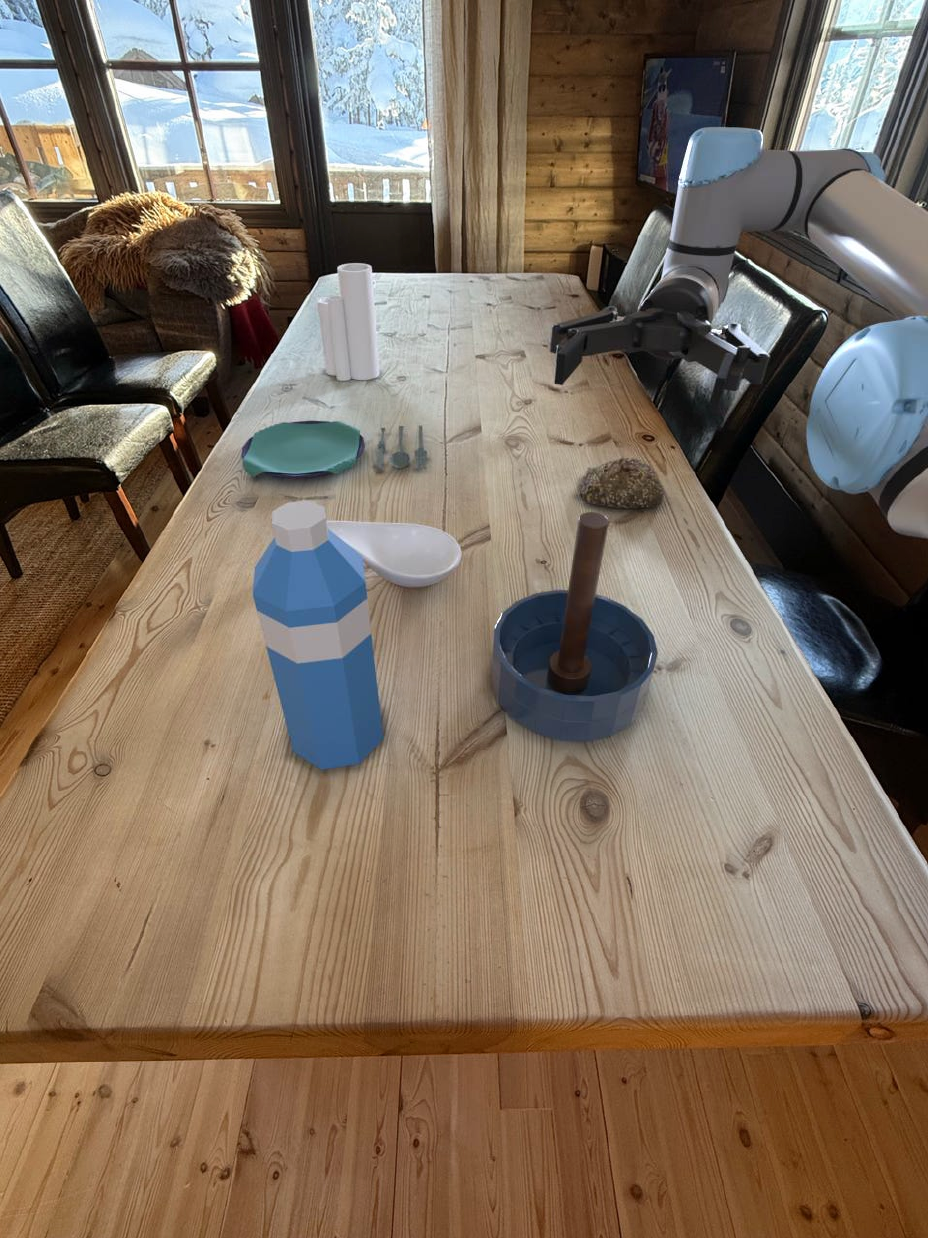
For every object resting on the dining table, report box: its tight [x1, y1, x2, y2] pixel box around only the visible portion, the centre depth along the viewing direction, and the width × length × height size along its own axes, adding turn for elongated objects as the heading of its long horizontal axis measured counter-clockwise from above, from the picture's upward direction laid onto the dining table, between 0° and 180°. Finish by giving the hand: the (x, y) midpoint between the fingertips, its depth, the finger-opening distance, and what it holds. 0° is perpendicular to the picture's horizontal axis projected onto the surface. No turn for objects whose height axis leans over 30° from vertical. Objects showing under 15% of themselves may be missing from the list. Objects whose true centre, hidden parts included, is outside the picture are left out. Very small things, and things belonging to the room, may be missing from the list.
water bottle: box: [252, 500, 384, 771], centre depth 57 cm, size 9×9×25 cm
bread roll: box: [579, 456, 665, 510], centre depth 100 cm, size 13×12×5 cm
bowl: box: [490, 589, 659, 743], centre depth 68 cm, size 16×16×6 cm
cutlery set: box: [240, 420, 428, 479], centre depth 108 cm, size 20×30×2 cm, turn 93°
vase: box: [316, 262, 380, 382], centre depth 130 cm, size 11×7×20 cm, turn 89°
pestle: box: [547, 511, 610, 695], centre depth 63 cm, size 4×4×20 cm
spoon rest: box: [327, 520, 462, 588], centre depth 82 cm, size 24×12×7 cm, turn 94°
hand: (635, 381), depth 57 cm, fingers open, 13 cm apart
